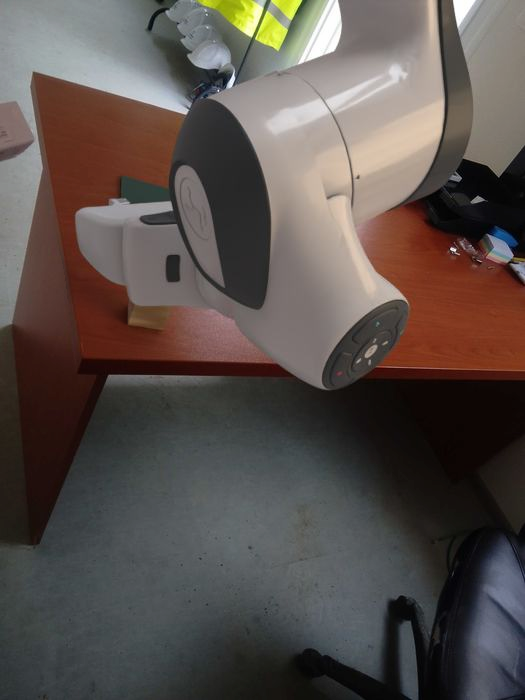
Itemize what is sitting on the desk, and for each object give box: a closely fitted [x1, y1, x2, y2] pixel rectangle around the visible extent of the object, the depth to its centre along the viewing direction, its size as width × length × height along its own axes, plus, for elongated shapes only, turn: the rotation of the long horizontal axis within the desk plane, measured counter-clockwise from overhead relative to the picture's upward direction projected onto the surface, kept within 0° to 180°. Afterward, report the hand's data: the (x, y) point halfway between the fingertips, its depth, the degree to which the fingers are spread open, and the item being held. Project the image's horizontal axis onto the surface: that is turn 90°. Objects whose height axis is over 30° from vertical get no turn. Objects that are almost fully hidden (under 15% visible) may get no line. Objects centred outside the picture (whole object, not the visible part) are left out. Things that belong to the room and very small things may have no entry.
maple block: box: [127, 299, 173, 331], centre depth 61 cm, size 5×4×15 cm
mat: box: [119, 174, 171, 204], centre depth 85 cm, size 22×18×1 cm
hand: (162, 203), depth 46 cm, fingers open, 8 cm apart
